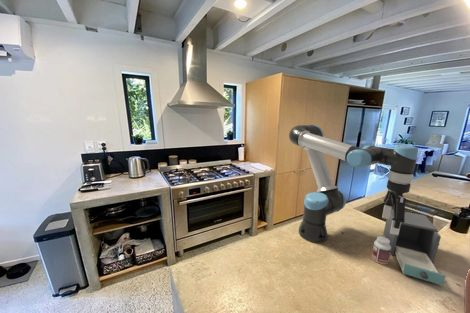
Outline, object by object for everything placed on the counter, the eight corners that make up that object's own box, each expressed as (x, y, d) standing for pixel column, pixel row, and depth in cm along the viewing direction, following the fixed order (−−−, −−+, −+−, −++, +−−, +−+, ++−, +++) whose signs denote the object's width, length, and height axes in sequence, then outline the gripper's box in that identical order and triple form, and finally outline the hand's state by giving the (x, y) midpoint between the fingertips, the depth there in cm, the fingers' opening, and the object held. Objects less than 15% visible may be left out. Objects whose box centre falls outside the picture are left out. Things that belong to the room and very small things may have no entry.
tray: (393, 249, 94) (395, 241, 93) (425, 257, 88) (428, 249, 88) (404, 275, 79) (406, 266, 78) (444, 288, 73) (447, 278, 72)
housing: (383, 234, 107) (388, 208, 104) (418, 242, 100) (425, 215, 97) (390, 254, 92) (397, 225, 88) (432, 266, 85) (441, 234, 82)
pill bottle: (390, 261, 88) (394, 240, 85) (384, 267, 84) (389, 245, 82) (374, 253, 93) (378, 233, 90) (369, 258, 89) (372, 237, 87)
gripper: (423, 193, 69) (410, 244, 73) (400, 174, 90) (391, 214, 95) (397, 190, 72) (386, 239, 77) (381, 172, 94) (373, 211, 98)
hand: (389, 225), depth 86 cm, fingers open, 13 cm apart
